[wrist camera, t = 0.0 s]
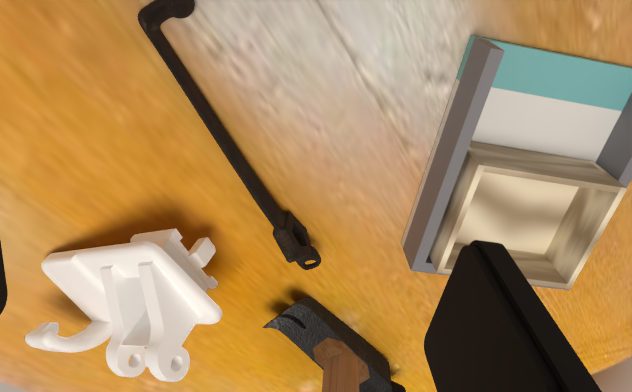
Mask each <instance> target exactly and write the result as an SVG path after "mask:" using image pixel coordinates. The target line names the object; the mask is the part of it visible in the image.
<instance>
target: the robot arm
mask: <svg viewBox="0 0 632 392" xmlns="http://www.w3.org/2000/svg"><path fill="white" fill-rule="evenodd" d="M6 301H7V285H6V278H5V271H4V264H3V256H2V249H1V242H0V314H1V313H2V311H3V309H4V307H5V305H6ZM424 351H425V355H426V358H427V361H428V364H429V367H430V370H431V373H432V377H433V380H434V383H435V386H436V389H437V392H602V391H601V390H600V389H599V387H598V385H597V384H596V382H595V381H594V379H593V378H592V377H591V375H590V373H589V372H588V370H587V369H586V368H585V366H584V365H583V363H582V362H581V360H580V359H579V357H578V356H577V354H576V353H575V351H574V350H573V348H572V347H571V345H570V344H569V342H568V341H567V339H566V338H565V336H564V335H563V333H562V332H561V330H560V329H559V327H558V326H557V324H556V323H555V321H554V320H553V318H552V317H551V315H550V314H549V312H548V311H547V309H546V308H545V306H544V305H543V303H542V302H541V300H540V299H539V297H538V296H537V294H536V293H535V291H534V290H533V288H532V287H531V285H530V284H529V282H528V281H527V279H526V278H525V276H524V275H523V273H522V272H521V270H520V269H519V267H518V266H517V264H516V263H515V261H514V260H513V258H512V257H511V255H510V254H509V252H508V251H507V249H506V248H505V246H504V245H503V244H501V243H495V242H488V241H481V240H474V241H472V242H471V243H470V245H469V246H468V245H465V246H463V247H462V249H461V251H460V253H459V255H458V258H457V260H456V262H455V265H454V267H453V270H452V272H451V275H450V277H449V280H448V282H447V284H446V287H445V289H444V292H443V294H442V297H441V299H440V301H439V304H438V306H437V309H436V311H435V314H434V316H433V319H432V321H431V323H430V326H429V328H428V331H427V333H426V336H425V340H424Z"/></svg>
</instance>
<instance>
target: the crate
mask: <svg viewBox="0 0 632 392" xmlns="http://www.w3.org/2000/svg"><path fill="white" fill-rule="evenodd" d="M626 190H627V188H626V187H625V186H624V185H623V184H621V183H620V182H619V181H618V180H616V179H615V178H614V177H612V176H611V175H610V174H609V173H607V172H606V171H605V170H604V169H602V168H601V167H600V166H599V165H597V164H596V163H595V162H594V161H588V160H582V159H576V158H570V157H564V156H558V155H552V154H546V153H540V152H533V151H527V150H521V149H515V148H509V147H503V146H497V145H491V144H485V143H479V142H473V141H471V142H470V145H469V148H468V151H467V153H466V156H465V159H464V161H463V164H462V167H461V169H460V172H459V175H458V177H457V180H456V183H455V185H454V188H453V191H452V193H451V196H450V199H449V201H448V204H447V207H446V209H445V212H444V215H443V217H442V220H441V223H440V225H439V228H438V231H437V233H436V236H435V239H434V241H433V244H432V247H431V249H430V252H429V256H430V259H431V261H432V263H433V266H434V268H435V270H436V273H444V274H451V272H452V270H453V267H454V265H455V262H456V260H457V258H458V255H459V253H460V251H461V249H462V247H463V246H465V245H468V246H469V245H470V243H471V242H472V241H474V240H481V241H488V242H495V243H501V244H503V245H504V246H505V248H506V249H507V251H508V252H509V254H510V255H511V257H512V258H513V260H514V261H515V263H516V264H517V266H518V267H519V269H520V270H521V272H522V273H523V275H524V276H525V278H526V279H527V281H528V282H529V284H533V285H541V286H549V287H557V288H565V289H571V287H572V285H573V283H574V282H575V280H576V278H577V276H578V275H579V273H580V271H581V269H582V268H583V266H584V264H585V262H586V260H587V259H588V257H589V255H590V253H591V252H592V250H593V248H594V246H595V245H596V243H597V241H598V239H599V238H600V236H601V234H602V232H603V231H604V229H605V227H606V225H607V224H608V222H609V220H610V218H611V216H612V215H613V213H614V211H615V209H616V208H617V206H618V204H619V202H620V201H621V199H622V197H623V195H624V194H625V192H626Z"/></svg>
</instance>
